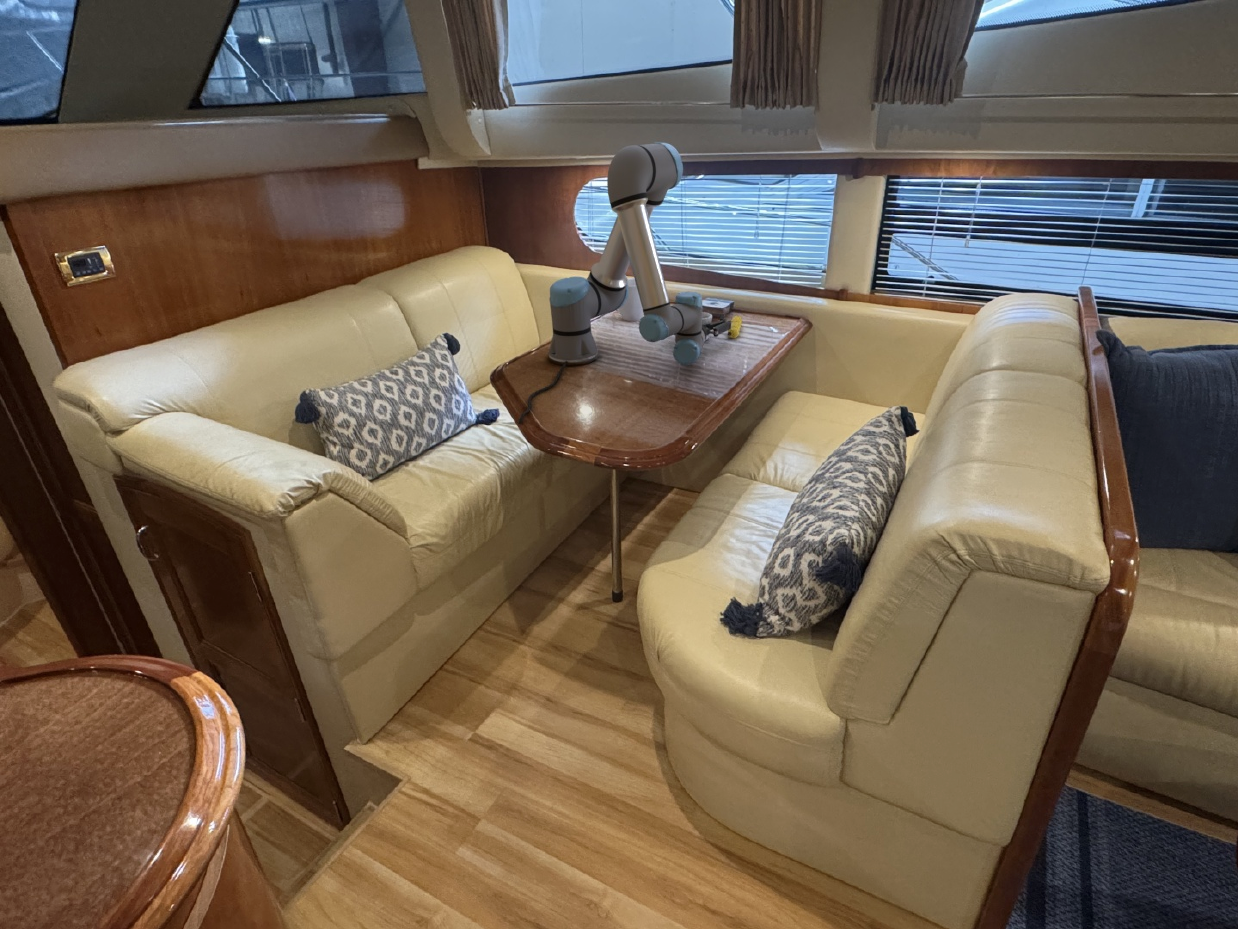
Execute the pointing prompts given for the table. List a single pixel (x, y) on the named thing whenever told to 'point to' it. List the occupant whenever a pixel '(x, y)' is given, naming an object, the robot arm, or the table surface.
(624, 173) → the robot arm
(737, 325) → the yellow bumpy cylinder
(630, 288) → the mug
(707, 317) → the cup
